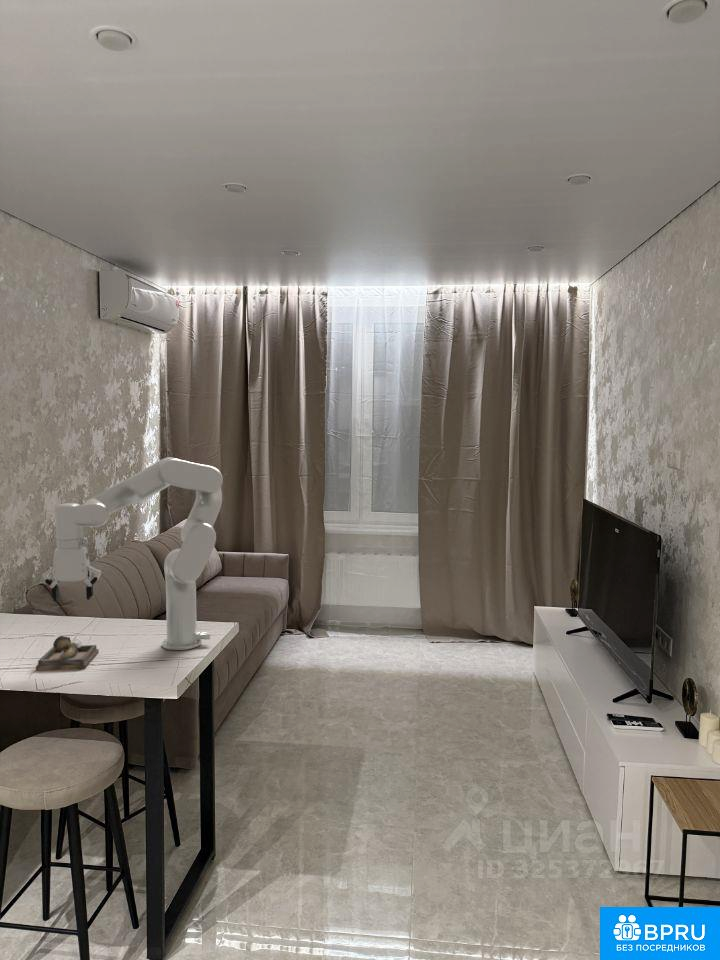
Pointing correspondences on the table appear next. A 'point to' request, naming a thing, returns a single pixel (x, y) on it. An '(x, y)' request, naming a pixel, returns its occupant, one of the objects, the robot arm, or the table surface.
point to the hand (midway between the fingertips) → (72, 599)
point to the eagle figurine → (67, 646)
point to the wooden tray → (78, 662)
